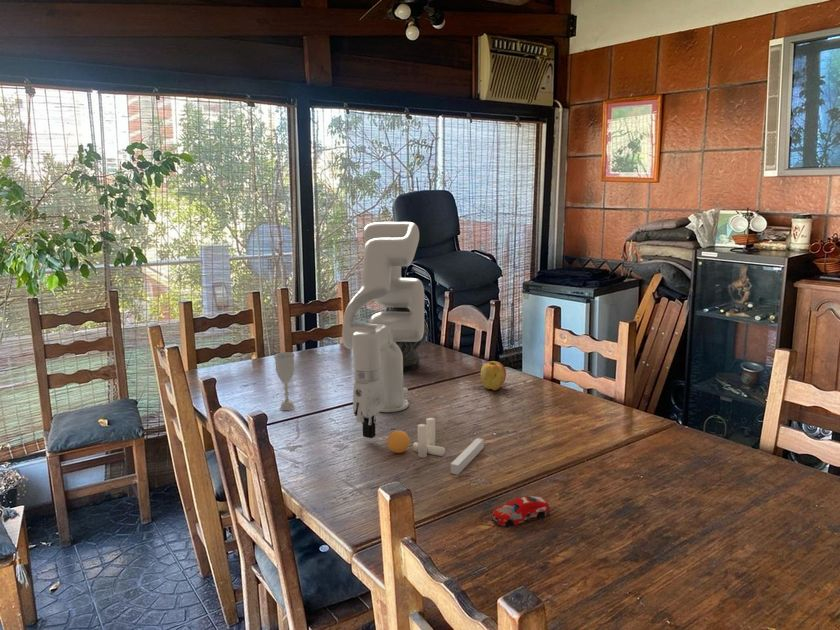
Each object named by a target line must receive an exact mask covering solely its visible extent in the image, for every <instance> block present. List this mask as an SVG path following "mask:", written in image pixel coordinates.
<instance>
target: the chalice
mask: <svg viewBox="0 0 840 630" xmlns="http://www.w3.org/2000/svg"><path fill="white" fill-rule="evenodd" d="M295 356H296V353H294V352H289V351H287V352H286V351H285V352H279V353H275V354H274V355H273V358H274V362H275V371H276V374H277V377H278V378H279V380H280V383H282V384H284V388H283V390H284V393H283V395H284V398H285V399H284V400H283V401H282V402H281V403H280V404H281V405H280V407H279V410H280V409H281V410H280V411H282V410H289V411H292V409H293V410H294V409H296V406H295V405H294V401H292V400H290V399H289V395H290V393H289V390H290V388H289V387H288V384H289V383H290V382H291V380H292V378H293V375H294V371H295V361H294V359H295Z"/></svg>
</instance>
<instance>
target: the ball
mask: <svg viewBox="0 0 840 630" xmlns="http://www.w3.org/2000/svg"><path fill="white" fill-rule="evenodd" d="M386 444H387V447H388V449H390V451H391V452H393V453H395V454H401V453H403V452H404V453H405V451H407V449H408V448H409V446H410V438H409V436H408V434H407V433H406V432H405V431H403V430H394V431H392V432H391V433H390V434H389V435H388V437H387V443H386Z"/></svg>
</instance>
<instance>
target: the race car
mask: <svg viewBox="0 0 840 630" xmlns="http://www.w3.org/2000/svg"><path fill="white" fill-rule="evenodd" d="M550 510H551V509H550V505H549V502H548V501H547V500H546V499H544V498H543V497H541V496H534V495H533V496H532V495H527V496H521V497H517V498H514V499H513V500H510V501H509V500H507V502H506V504H503V505H501V506H498V507H496V508H495V509H494V510H493V512H492V520H493V522H494V523H495V524H497V525H498V526H502V527H507V528H509V527H513V526H514V525H519V524H521V523H522V524H523V523H526V522H530V521H533V520H534V521H535V520H539V519H544V517H547V516H548V515H549V514H550Z"/></svg>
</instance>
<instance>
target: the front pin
mask: <svg viewBox="0 0 840 630" xmlns="http://www.w3.org/2000/svg"><path fill="white" fill-rule="evenodd" d="M412 451H413V452H416V453H418V442H417V441H416V442H413V444H412ZM428 454H429V455H432V456H433V455H435V456H439V457H443V456H444V455H445V454H446V448H445V447H444V446H439V445H435V446H434V445H428V444H427V455H428Z"/></svg>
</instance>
